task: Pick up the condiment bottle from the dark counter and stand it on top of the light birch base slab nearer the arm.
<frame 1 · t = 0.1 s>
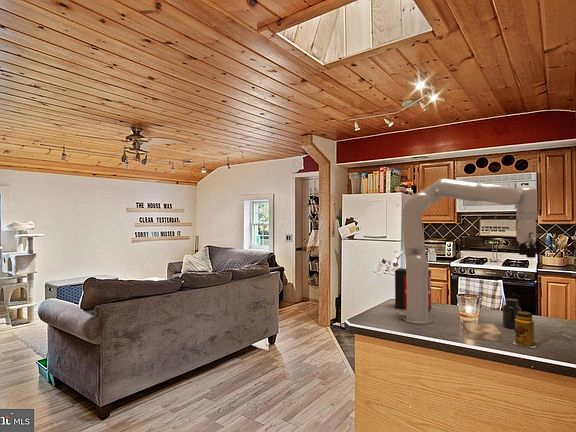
hand: (527, 256, 158), 31 cm above the countertop, tool pointing down, fingers open, 9 cm apart
condiment: (525, 343, 141), on the countertop
cleaning product box: (413, 308, 193), on the countertop
base slab: (481, 335, 150), on the countertop
supplement bottle: (511, 327, 161), on the countertop
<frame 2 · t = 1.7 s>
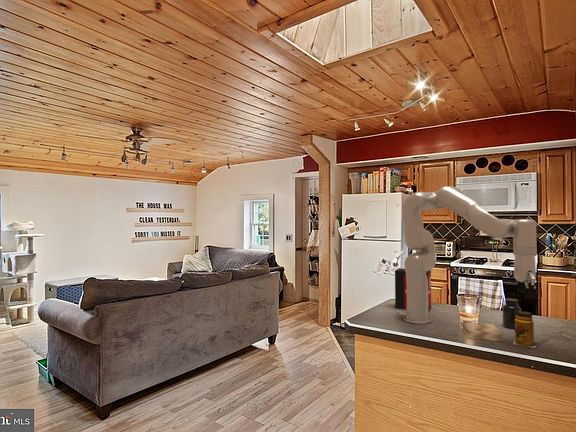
hand: (525, 296, 140), 18 cm above the countertop, tool pointing down, fingers open, 9 cm apart
nothing on the countertop moved.
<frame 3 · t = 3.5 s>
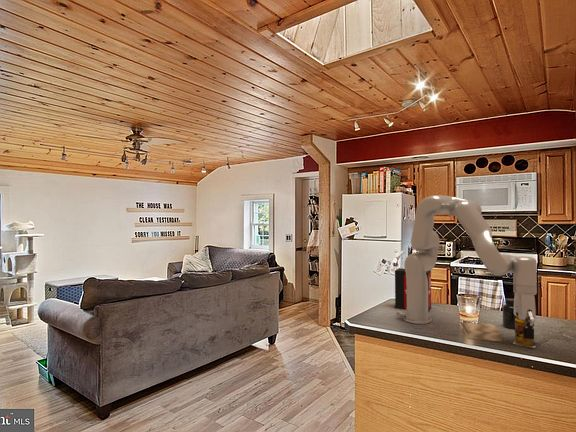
hand: (525, 334, 141), 3 cm above the countertop, tool pointing down, fingers open, 7 cm apart
condiment: (525, 343, 141), on the countertop, touching gripper
everything else where it was.
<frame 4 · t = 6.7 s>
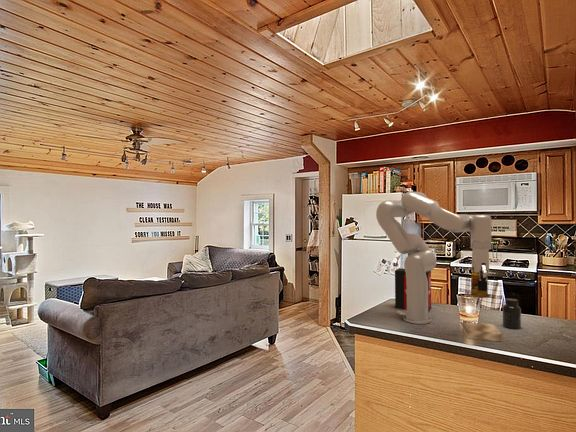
hand: (480, 288, 150), 19 cm above the countertop, tool pointing down, fingers closed on condiment, 6 cm apart
condiment: (480, 296, 151), point 16 cm above the countertop, touching gripper
everything else where it was.
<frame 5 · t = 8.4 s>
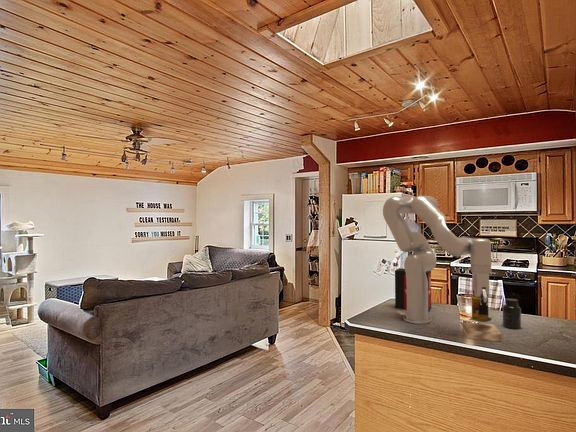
hand: (481, 312, 150), 9 cm above the countertop, tool pointing down, fingers closed on condiment, 6 cm apart
condiment: (481, 319, 151), point 6 cm above the countertop, touching gripper
everything else where it was.
when the fingers open (7 cm above the countertop, at t = 9.8 s): condiment stays where it is, resting on base slab.
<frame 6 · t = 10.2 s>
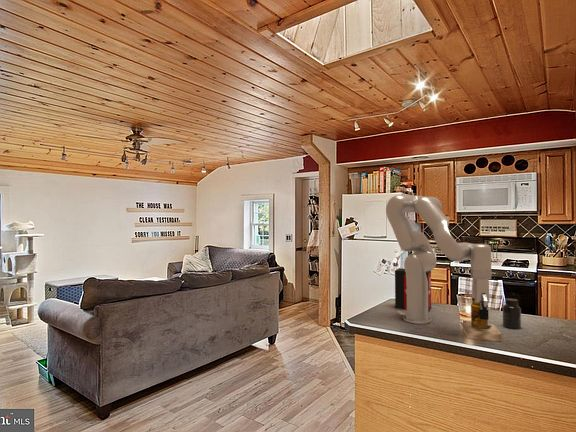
hand: (481, 315, 150), 8 cm above the countertop, tool pointing down, fingers open, 9 cm apart
condiment: (480, 327, 151), point 3 cm above the countertop, touching base slab
everything else where it was.
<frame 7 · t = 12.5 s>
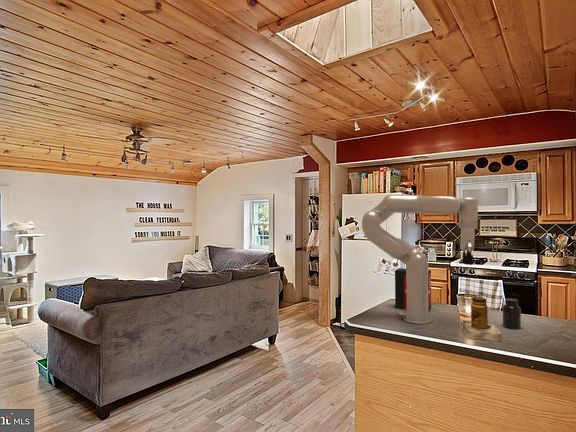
hand: (467, 263, 165), 28 cm above the countertop, tool pointing down, fingers open, 9 cm apart
nothing on the countertop moved.
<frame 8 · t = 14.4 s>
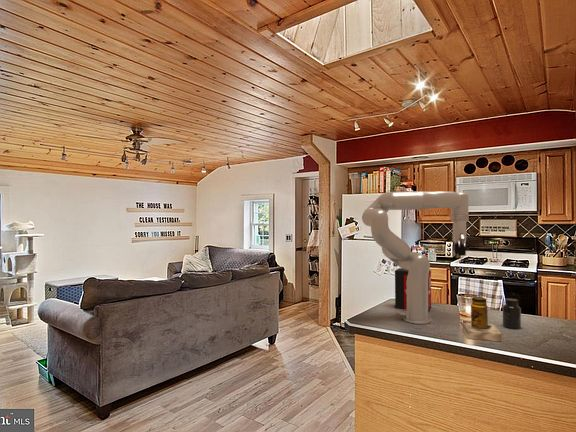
hand: (460, 254, 175), 30 cm above the countertop, tool pointing down, fingers open, 9 cm apart
nothing on the countertop moved.
at the end: condiment inside the target area on the base slab (0.8 cm from its centre), point 2.9 cm above the base slab's base; condiment tilted 0°; the gripper is holding nothing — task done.
